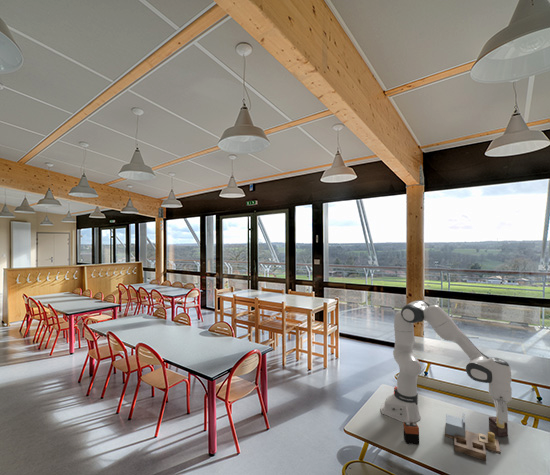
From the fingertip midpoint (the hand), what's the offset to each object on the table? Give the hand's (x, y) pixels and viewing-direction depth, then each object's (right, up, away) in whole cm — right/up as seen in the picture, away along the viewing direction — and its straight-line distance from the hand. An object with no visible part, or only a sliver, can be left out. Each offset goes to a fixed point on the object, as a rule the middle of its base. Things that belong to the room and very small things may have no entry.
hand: (500, 420), depth 138 cm
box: (+13, -19, +18) cm, 29 cm away
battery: (-38, -19, +12) cm, 44 cm away
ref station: (-5, -19, +14) cm, 24 cm away
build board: (-11, -19, +6) cm, 22 cm away
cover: (-11, -18, +18) cm, 27 cm away
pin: (0, -3, 0) cm, 3 cm away
